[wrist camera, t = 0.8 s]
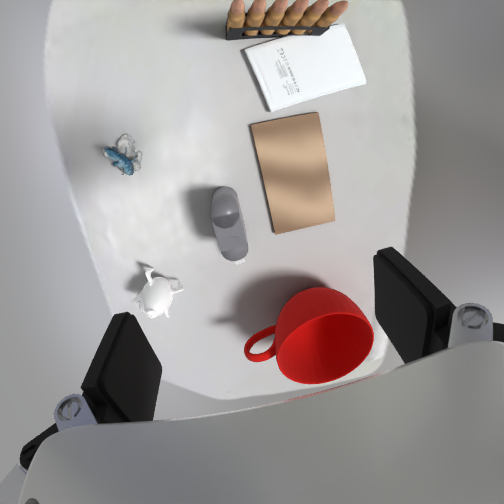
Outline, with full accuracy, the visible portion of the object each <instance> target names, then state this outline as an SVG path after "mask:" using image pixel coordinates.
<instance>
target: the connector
mask: <svg viewBox="0 0 504 504" xmlns="http://www.w3.org/2000/svg"><path fill="white" fill-rule="evenodd" d="M210 216H211V221H212V224H213V227H214V231H215V234H216V237H217V241H218V244H219V247H220V250H221V253H222V255H223V256H224V257H225V258H226V259H227V260H230V261H235V263H236V264H241V263H245V256H246V254H247V252H248V243H247V237H246V230H245V224H244V221H243V217H242V213H241V209H240V205H239V201H238V197H237V194H236V192H235V191H234V190H233V189H232V188H230V187H220V188H218V189H217V190H216V191H215V192H214V194H213V199H212V206H211V213H210Z"/></svg>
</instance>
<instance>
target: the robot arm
mask: <svg viewBox="0 0 504 504" xmlns="http://www.w3.org/2000/svg"><path fill="white" fill-rule="evenodd" d="M373 262H374V286H375V315H376V319H377V321H378V322H379V324H380V325H381V327H382V328H383V330H384V332H385V333H386V335H387V336H388V338H389V339H390V341H391V342H392V344H393V345H394V347H395V349H396V350H397V352H398V353H399V355H400V356H401V358H402V360H403V361H404V363H405V364H404V365H401V366H399V367H396V368H394V369H390V370H388V371H385V372H382V373H379V374H376V375H373V376H370V377H367V378H364V379H361V380H358V381H355V382H352V383H348V384H345V385H342V386H338V387H335V388H331V389H328V390H324V391H321V392H317V393H313V394H309V395H305V396H301V397H297V398H293V399H289V400H285V401H280V402H276V403H271V404H266V405H262V406H256V407H251V408H246V409H240V410H235V411H229V412H223V413H216V414H209V415H202V416H194V417H186V418H177V419H167V420H155V421H153V417H154V411H155V406H156V400H157V395H158V390H159V385H160V379H161V374H162V366H161V363H160V361H159V360H158V358H157V356H156V354H155V353H154V351H153V349H152V347H151V345H150V344H149V342H148V340H147V338H146V336H145V334H144V333H143V331H142V329H141V327H140V325H139V323H138V321H137V319H136V317H135V316H134V315H131V314H130V313H129V312H124V313H119V314H115V315H114V316H113V318H112V320H111V322H110V324H109V326H108V328H107V330H106V332H105V334H104V336H103V339H102V341H101V343H100V345H99V347H98V349H97V351H96V354H95V356H94V358H93V360H92V363H91V365H90V367H89V370H88V372H87V374H86V376H85V379H84V381H83V383H82V386H81V389H82V390H83V391H84V392H83V394H82V395H79V394H72V395H69V396H67V397H65V398H63V399H62V400H61V401H60V402H59V403H58V404H57V406H56V408H55V411H54V418H55V421H56V423H55V424H53V425H52V426H51V427H49V428H48V429H47V430H45V431H44V432H42V433H41V434H40V435H38V436H37V437H36V438H34V439H33V440H31V441H30V442H28V443H27V444H26V445H25V446H24V447H23V449H22V451H21V454H20V463H21V465H20V466H19V465H18V464H16V466H15V467H14V468H13V469H12V470H11V471H10V472H9V474H8V475H7V476H6V477H5V478H4V480H3V481H2V482H1V483H0V504H504V324H499V323H493V318H492V314H491V313H490V311H489V310H488V309H486V308H485V307H484V306H482V305H479V304H475V303H466V304H462V305H460V306H459V307H455V305H454V304H453V303H452V302H451V301H450V300H449V299H448V298H447V297H446V296H445V295H444V294H443V293H442V292H441V291H440V290H439V289H438V288H437V287H436V286H435V285H434V284H433V283H431V282H430V281H429V280H428V279H427V278H426V277H425V276H424V275H423V274H422V273H421V272H420V271H419V270H418V269H416V268H415V267H414V266H413V265H412V264H411V263H410V262H409V261H408V260H407V259H405V258H404V257H403V256H402V255H401V254H400V253H399V252H398V251H396V250H395V249H394V248H393V247H388V248H385V249H381V250H378V251H377V255H374V257H373Z"/></svg>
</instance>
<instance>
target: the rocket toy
mask: <svg viewBox="0 0 504 504" xmlns="http://www.w3.org/2000/svg"><path fill="white" fill-rule="evenodd" d="M153 270H154V268H151V269H149V270H147V271H146V272H145V274H146V277H147V279H148V282H147V283H146V284H145V286H144V288H143V290H142V291H141V292H140V293H139V294H138V295H137V296H136V298H135V299H134V300H133V303H136V302H140V301H141V302H140V303H139V308H140V310H141V311H142V312H143V313H146V314H147V316H148V317H149V318H150V319H151V318H155V317H156V316H158V315H161V314H162V313H165V315H166V316H167V318H169V307H170V305H171V303H172V300H173V293H176V292H180V291H183V290H184V288H183V286H182V284H181V282H180V281H179V280H177V281H178V286H177V287H176V288H172V286H171V284H170V282H169V281H168V280H167V279H165V278H163V277H155V278H151V272H152V271H153ZM141 295H142V297H141Z"/></svg>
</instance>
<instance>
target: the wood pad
mask: <svg viewBox="0 0 504 504" xmlns="http://www.w3.org/2000/svg"><path fill="white" fill-rule="evenodd" d="M251 129H252V133H253V137H254V141H255V146H256V150H257V154H258V159H259V163H260V167H261V172H262V176H263V181H264V185H265V190H266V194H267V199H268V203H269V208H270V213H271V217H272V222H273V227H274V231H275V235H276V234H281V233H285V232H289V231H293V230H298V229H302V228H306V227H310V226H315V225H319V224H323V223H327V222H332V221H335V214H334V206H333V199H332V191H331V184H330V177H329V171H328V164H327V158H326V152H325V146H324V140H323V135H322V129H321V124H320V119H319V113H318V112H316V113H310V114H304V115H298V116H292V117H287V118H281V119H276V120H271V121H266V122H262V123H257V124H252V125H251Z"/></svg>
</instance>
